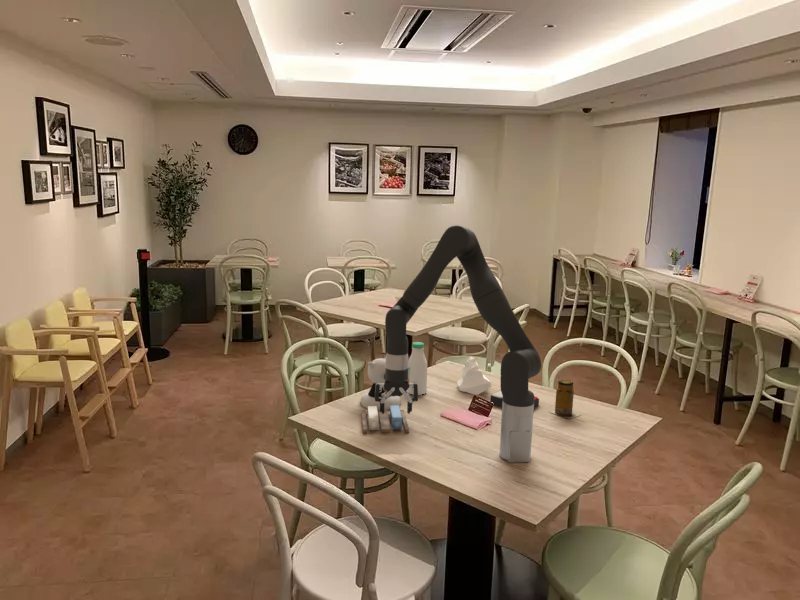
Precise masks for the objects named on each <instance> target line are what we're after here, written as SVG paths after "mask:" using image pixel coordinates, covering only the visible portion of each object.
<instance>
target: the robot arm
mask: <svg viewBox="0 0 800 600" xmlns="http://www.w3.org/2000/svg"><path fill="white" fill-rule="evenodd" d="M456 258H457V260H459V262H460V264H461V266H462V268H463V270H464V271H465V273H466V276H467V279H468V284H469V285H468V287H469V290H470V294H471V298H472V300H473V303H474V304H475V306H476V308H477V310H478V312H479V314H480V317H481V318H482V319H483V321H484V322H486V323H487V324H488V325H489V327H491V328H492V329H493V330H494V331H495V332H497V334H498V335H500V336H501V338H502V339H503V341H504V342H505V344H506V346H507V348H508V350H509V351H508V352H506V353H505V354H504V355H503V357H502V359H501V361H500V362H501V363H500V390H501V392H502V395H503V403H502V407H501V422H500V424H501V426H500V437H499V438H500V439H499V443H500V444H499V457H501V459H503V460H505V461H507V462H508V463H529V462H530V460H531V455H532V454H531V453H532V440H533V426H534V423H533V421H534V410H535V408H534V396H535V394H534V392H533V391H532V390H530V389H529V379H530V378H531V379H532V378H533V377H535V376H536V377H537V375H538V374H539V373H540V372H541V370H542V359H541V357H540V354H539V352H538V351H537V348H535V346H534V345H533V343H532V342H531V339H530V338H529V336H528V335H527V334H526V332H525V331H524V329H523V327H522V326H521V324H520V322H519V320H518V318H517V315H516V314H515V313H514V311H513V309H512V307H511V305H510V303H509V300H508V298H507V296H506V294H505V291H504V290H503V289H502V286H501V284H500V283H499V282H498V280H497V278H496V276H495V274H494V273H493V271H492V269H491V268H490V266H489V265H488V263H487V260H486V258H485V256H484V253H483V250H482V248H481V246H480V243H479V240H478V237H477V235H476V233H475V232H474V231H473V230H471V229H470V228H468V227H466V226H463V225H460V224H454V225H451V226H449V227H448V228H446V229H445V231H444V233H443V234H442V236H441V237H440V239H439V241H438V243H437V245H436V246H435V249H434V250H433V252H432V253H431V254H430V257H429V258H428V260H427V261H426V263H425V264H424V266H423V267H422V269H421V270H420V271H419V272H418V274H417V276H415V277H414V278H413V280H412V281H411V282H410V284H409V285H408V286H407V287H406V288H405V290H404V291H403V294H402V296H400V298H399V299H398V301H397V302H396V303H395V304H394V305H393V306H392V307H391V308H390V309H389V310H388V311H386V315H385V318H384V320H385V321H384V327H385V335H386V355H385V357H386V362H385V365H386V367H385V382H384V383H379V382H376V385H375V401H376V402H377V401H378V402H380V412H382V414H384V402H385V400H386V399H387V398H388V397H389V396H390V395H391V396H400V397H402V396H404V398H405V399H406V400H407V408H406V410H407V411H406V412H407V415H409V414H411V412H412V411H413V403H414V402H418V401H419V395H418V385H417V383H416V382H413V383H408V364H409V338H408V336H407V325H408V323H410V320H411V319H412V317H413V316H414V315H415V314H416V313H417V311H418V309H419V308H420V307H421V306H422V305H423V304H424V303H425V302H426V300H427V299H428V298H429V297H430V295H431V294H432V293H433V292H434V290H435V288H436V287H437V285H438V283H439V280H440V278H441V276H442V274H443V272H444V271H445V270H446V268H447V266H449V264H451V262H452V261H453V260H454V259H456ZM382 387H384V388H385V389H386V391H385V392H384V394H383V395H382V397H379V390H381V389H382ZM409 387H411V389H412V390H413V395H412V396H411V395H410V394H408V392H407V389H408V388H409Z"/></svg>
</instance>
